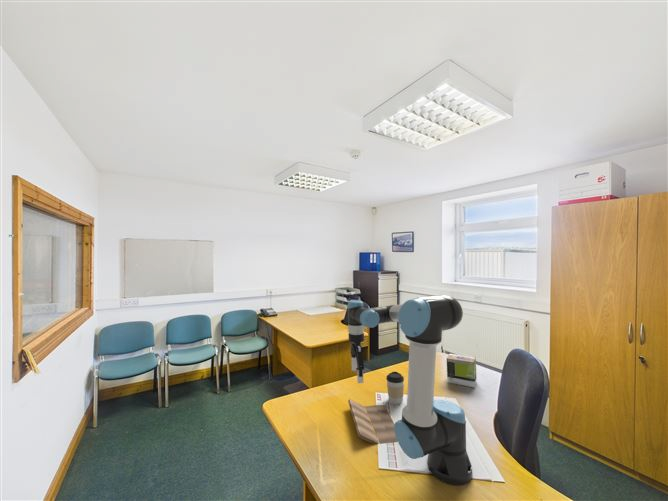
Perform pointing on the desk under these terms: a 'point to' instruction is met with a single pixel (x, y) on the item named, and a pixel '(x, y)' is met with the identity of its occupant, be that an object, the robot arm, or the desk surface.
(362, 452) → the desk surface
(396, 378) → the coffee cup
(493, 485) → the desk surface
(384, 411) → the laid board
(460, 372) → the tea box
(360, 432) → the plank near
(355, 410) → the plank far
